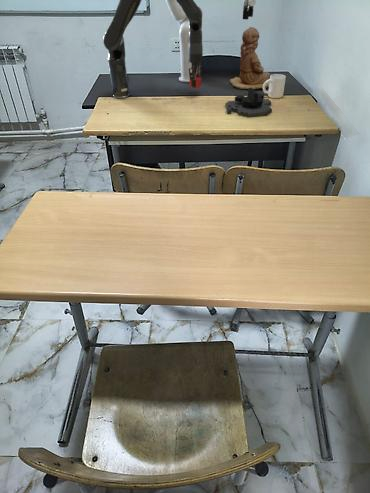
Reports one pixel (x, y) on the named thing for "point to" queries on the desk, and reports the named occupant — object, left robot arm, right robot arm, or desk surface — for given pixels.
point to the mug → (275, 86)
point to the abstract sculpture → (249, 104)
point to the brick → (198, 82)
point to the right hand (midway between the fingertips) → (247, 17)
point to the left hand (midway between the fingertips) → (195, 85)
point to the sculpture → (250, 63)
